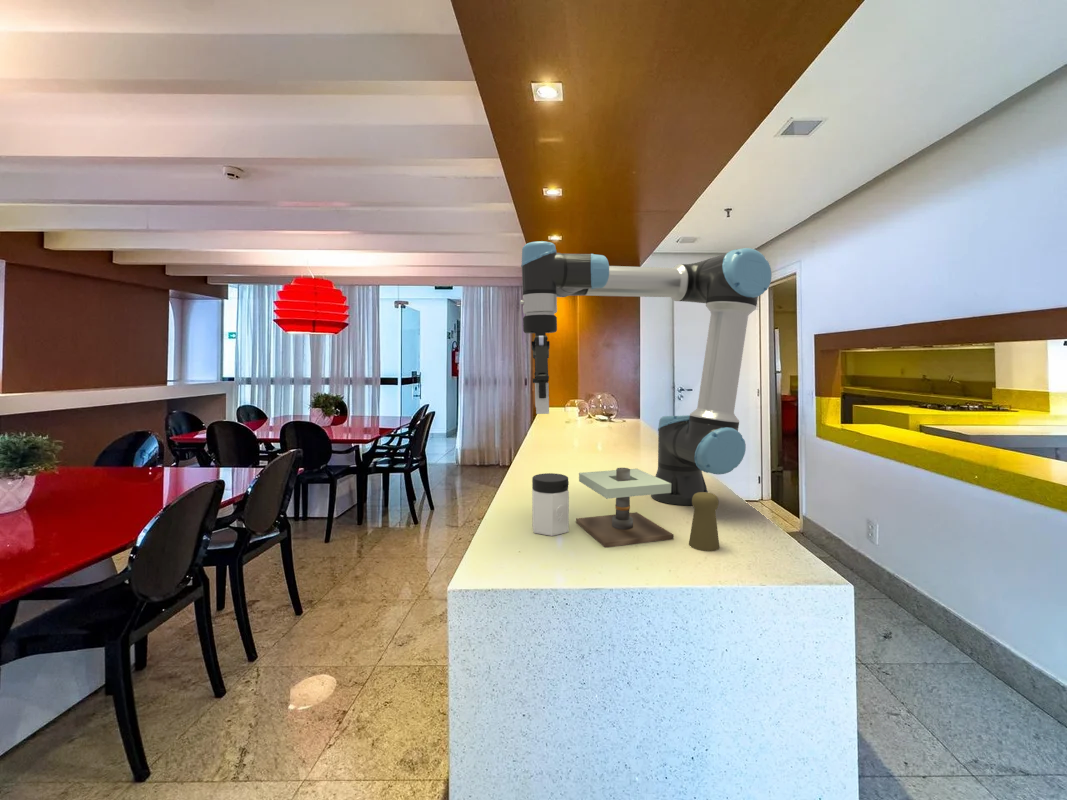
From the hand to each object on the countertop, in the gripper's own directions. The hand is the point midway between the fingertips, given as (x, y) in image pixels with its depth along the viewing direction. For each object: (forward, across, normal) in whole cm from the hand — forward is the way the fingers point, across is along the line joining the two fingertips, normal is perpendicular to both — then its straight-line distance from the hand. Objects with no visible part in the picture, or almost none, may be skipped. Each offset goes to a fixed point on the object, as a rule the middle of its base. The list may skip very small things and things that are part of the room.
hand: (541, 410), depth 111 cm
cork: (+28, +12, +33) cm, 44 cm away
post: (+27, +3, +18) cm, 32 cm away
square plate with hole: (+17, +3, +18) cm, 25 cm away
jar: (+27, +2, +1) cm, 27 cm away
